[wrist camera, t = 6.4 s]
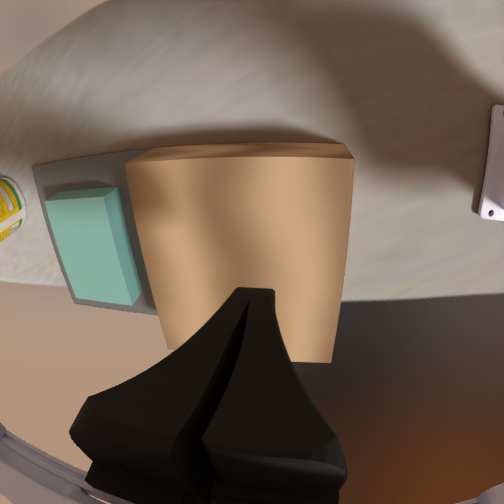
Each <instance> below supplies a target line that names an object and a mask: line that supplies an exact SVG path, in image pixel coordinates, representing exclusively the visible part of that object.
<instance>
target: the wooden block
mask: <svg viewBox="0 0 504 504" xmlns="http://www.w3.org/2000/svg"><path fill="white" fill-rule="evenodd" d="M125 169H126V175H127V181H128V186H129V192H130V197H131V202H132V208H133V213H134V218H135V223H136V227H137V232H138V237H139V241H140V246H141V250H142V254H143V259H144V263H145V267H146V271H147V275H148V279H149V283H150V287H151V290H152V294H153V298H154V302H155V305H156V309H157V313H158V316H159V320H160V323H161V326H162V330H163V333H164V336H165V340H166V343H167V346H168V349H171V350H176V349H178V348H179V347H180V346H181V345H182V344H184V343H185V342H186V341H187V340H188V339H189V338H190V337H191V336H193V335H194V334H195V333H196V332H197V331H198V330H199V329H200V328H201V327H202V326H203V325H204V324H205V323H206V322H207V321H208V320H209V319H210V318H211V317H212V315H213V314H214V313H215V312H216V311H217V310H218V309H219V308H220V307H221V305H222V304H223V303H224V302H225V301H226V300H227V298H228V297H229V296H230V295H231V293H232V292H233V291H234V290H235V289H236V288H237V287H251V288H271V289H273V290H274V291H275V310H276V316H277V321H278V324H279V328H280V332H281V335H282V339H283V341H284V344H285V347H286V350H287V352H288V355H289V357H290V360H291V361H296V362H321V363H331V358H332V353H333V347H334V341H335V336H336V330H337V324H338V317H339V311H340V304H341V297H342V290H343V282H344V274H345V266H346V258H347V249H348V239H349V229H350V218H351V206H352V192H353V177H354V158H353V156H352V155H351V153H350V152H349V150H348V149H347V147H346V146H345V144H329V143H291V142H261V143H223V144H202V145H186V146H173V147H161V148H154V149H152V150H150V151H148V152H146V153H144V154H142V155H140V156H138V157H136V158H135V159H133V160H131V161H129V162H127V163H125Z"/></svg>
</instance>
